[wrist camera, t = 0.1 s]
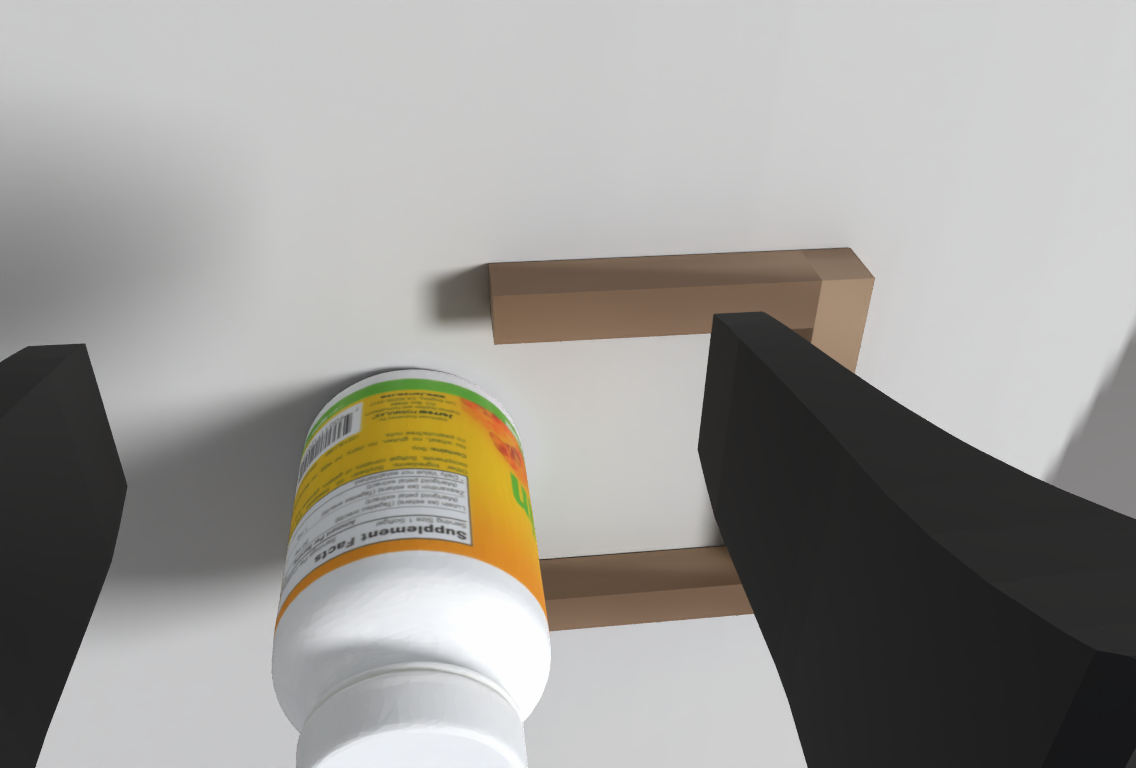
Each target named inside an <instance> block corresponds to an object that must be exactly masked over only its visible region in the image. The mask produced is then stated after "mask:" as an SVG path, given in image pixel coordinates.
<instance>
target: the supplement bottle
mask: <svg viewBox="0 0 1136 768" xmlns="http://www.w3.org/2000/svg"><path fill="white" fill-rule="evenodd" d="M550 661H551V647H550V633H549V627H548V619H547V612H546V605H545V598H544V592H543V585H542V578H541V571H540V564H539V556H538V548H537V541H536V534H535V528H534V521H533V514H532V507H531V501H530V495H529V488H528V481H527V474H526V468H525V461H524V455H523V450H522V445H521V440H520V437H519V434H518V431H517V429H516V426H515V424H514V422H513V421H512V419H511V417H510V416H509V414H508V413H507V411H506V410H505V409H504V407H503V406H502V405H501V404H500V403H499V402H498V401H497V400H496V399H495V398H494V397H493V396H491V395H490V394H489V393H488V392H486V391H485V390H483V389H482V388H480V387H479V386H477V385H475V384H473V383H472V382H469V381H467V380H465V379H463V378H460V377H458V376H455V375H451V374H448V373H443V372H438V371H430V370H416V369H411V370H398V371H391V372H385V373H382V374H378V375H374V376H371V377H369V378H366V379H364V380H362V381H360V382H358V383H355V384H353V385H352V386H350V387H348V388H347V389H345V390H343V391H342V392H340V393H339V394H338V395H336V396H335V397H334V398H333V399H332V400H331V401H330V402H328V403H327V404H326V405H325V407H324V408H323V409H322V410H321V411H320V413H319V414H318V416H317V417H316V419H315V420H314V422H313V424H312V425H311V428H310V430H309V432H308V435H307V437H306V441H305V444H304V449H303V452H302V458H301V463H300V469H299V475H298V481H297V488H296V494H295V501H294V508H293V515H292V522H291V529H290V535H289V542H288V548H287V555H286V562H285V568H284V575H283V581H282V587H281V594H280V601H279V607H278V613H277V619H276V625H275V632H274V641H273V654H272V679H273V685H274V689H275V693H276V696H277V699H278V701H279V704H280V706H281V708H282V710H283V712H284V714H285V715H286V717H287V718H288V720H289V721H290V722H291V724H292V725H293V726H294V727H295V728H296V730H297V731H298V732H299V733H300V736H299V740H298V744H297V752H296V768H528V766H527V754H526V745H525V737H524V729H523V722H524V721H525V720H526V719H527V717H528V716H529V715H530V714H531V712H532V711H533V709H534V708H535V706H536V704H537V703H538V701H539V700H540V698H541V696H542V693H543V691H544V688H545V685H546V683H547V680H548V675H549V671H550Z"/></svg>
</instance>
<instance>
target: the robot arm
mask: <svg viewBox="0 0 1136 768" xmlns="http://www.w3.org/2000/svg"><path fill="white" fill-rule="evenodd" d="M698 453H699V457H700V461H701V466H702V470H703V474H704V478H705V482H706V486H707V490H708V494H709V498H710V501H711V505H712V509H713V513H714V516H715V519H716V522H717V524H718V527H719V529H720V532H721V535H722V537H723V539H724V542H725V544H726V547H727V549H728V552H729V554H730V557H731V559H732V562H733V564H734V567H735V569H736V571H737V574H738V576H739V579H740V581H741V583H742V586H743V588H744V591H745V593H746V595H747V598H748V600H749V603H750V605H751V608H752V610H753V612H754V615H755V617H756V620H757V622H758V624H759V627H760V629H761V632H762V634H763V636H764V639H765V641H766V644H767V646H768V648H769V651H770V653H771V656H772V658H773V660H774V663H775V665H776V668H777V671H778V673H779V676H780V679H781V682H782V685H783V687H784V690H785V693H786V696H787V698H788V701H789V705H790V708H791V712H792V715H793V718H794V722H795V725H796V729H797V732H798V736H799V739H800V742H801V746H802V749H803V753H804V756H805V760H806V763H807V767H808V768H1136V519H1134V518H1131V517H1128V516H1126V515H1123V514H1121V513H1118V512H1115V511H1113V510H1110V509H1108V508H1106V507H1103V506H1101V505H1098V504H1096V503H1093V502H1091V501H1088V500H1086V499H1084V498H1081V497H1079V496H1076V495H1074V494H1071V493H1069V492H1066V491H1064V490H1061V489H1059V488H1057V487H1055V486H1053V485H1050V484H1048V483H1046V482H1044V481H1041V480H1039V479H1037V478H1035V477H1033V476H1030V475H1028V474H1026V473H1024V472H1022V471H1020V470H1018V469H1016V468H1014V467H1012V466H1010V465H1008V464H1006V463H1004V462H1002V461H1000V460H998V459H996V458H994V457H992V456H990V455H988V454H986V453H984V452H982V451H980V450H978V449H976V448H974V447H973V446H971V445H969V444H967V443H965V442H963V441H962V440H960V439H958V438H956V437H954V436H953V435H951V434H949V433H947V432H946V431H944V430H942V429H941V428H939V427H937V426H936V425H934V424H932V423H931V422H929V421H927V420H926V419H924V418H922V417H921V416H919V415H917V414H916V413H914V412H912V411H911V410H909V409H907V408H906V407H904V406H903V405H901V404H899V403H898V402H896V401H895V400H893V399H892V398H890V397H889V396H887V395H885V394H884V393H882V392H881V391H879V390H878V389H876V388H875V387H873V386H872V385H870V384H869V383H867V382H866V381H864V380H863V379H861V378H860V377H859V376H857V375H856V374H854V373H853V372H851V371H850V370H848V369H847V368H845V367H844V366H843V365H841V364H840V363H838V362H837V361H835V360H834V359H833V358H831V357H830V356H828V355H827V354H826V353H824V352H823V351H821V350H820V349H818V348H817V347H816V346H814V345H813V344H811V343H810V342H809V341H807V340H806V339H804V338H803V337H801V336H800V335H799V334H797V333H796V332H794V331H793V330H791V329H790V328H789V327H787V326H786V325H784V324H783V323H781V322H780V321H778V320H776V319H775V318H773V317H772V316H770V315H768V314H767V313H765V312H763V311H760V312H739V313H718V314H713V322H712V330H711V339H710V347H709V356H708V365H707V373H706V382H705V391H704V399H703V408H702V416H701V425H700V434H699V442H698ZM126 491H127V483H126V479H125V476H124V473H123V469H122V466H121V462H120V459H119V456H118V452H117V449H116V446H115V442H114V439H113V436H112V432H111V429H110V426H109V422H108V419H107V415H106V412H105V409H104V405H103V402H102V399H101V395H100V392H99V389H98V385H97V382H96V379H95V375H94V372H93V368H92V365H91V362H90V358H89V355H88V352H87V348H86V345H85V344H66V345H45V346H28V347H26V348H24V349H22V350H20V351H19V352H17V353H15V354H13V355H11V356H10V357H8V358H7V359H5V360H3V361H2V362H0V768H35V767H36V764H37V761H38V758H39V755H40V752H41V749H42V746H43V742H44V739H45V736H46V733H47V731H48V728H49V725H50V723H51V720H52V718H53V715H54V712H55V710H56V707H57V704H58V702H59V699H60V697H61V694H62V691H63V689H64V686H65V684H66V681H67V678H68V676H69V673H70V671H71V668H72V665H73V663H74V660H75V658H76V655H77V652H78V650H79V647H80V645H81V642H82V639H83V637H84V634H85V632H86V629H87V626H88V624H89V621H90V618H91V616H92V613H93V610H94V608H95V605H96V602H97V600H98V597H99V594H100V592H101V589H102V586H103V584H104V581H105V578H106V575H107V573H108V570H109V567H110V564H111V561H112V557H113V553H114V548H115V544H116V540H117V535H118V531H119V527H120V521H121V516H122V511H123V506H124V501H125V496H126Z"/></svg>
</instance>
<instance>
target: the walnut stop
mask: <svg viewBox="0 0 1136 768" xmlns="http://www.w3.org/2000/svg"><path fill="white" fill-rule="evenodd" d="M874 280H875V278H874V276H873V275H872V274H871V273H870V271H869V270H868V269H867V268H866V267H865V265H864V264H863V263H862V262H861V260H860V259H859V258H858V257H857V255H856V254H855V253H854V252H853V250H852V249H851V248H837V249H814V250H790V251H767V252H744V253H721V254H698V255H675V256H651V257H628V258H605V259H582V260H559V261H536V262H513V263H489V287H490V313H491V321H492V329H493V337H494V345H497V344H516V343H535V342H554V341H573V340H592V339H611V338H630V337H649V336H668V335H687V334H706V333H711V330H712V322H713V314H718V313H739V312H760V311H763V312H765V313H767V314H768V315H770V316H772V317H773V318H775V319H776V320H778V321H780V322H781V323H783V324H784V325H786V326H787V327H789V328H790V329H791V330H793V331H794V332H796V333H797V334H799V335H800V336H801V337H803V338H804V339H806V340H807V341H809V342H810V343H811V344H813V345H814V346H816V347H817V348H818V349H820V350H821V351H823V352H824V353H826V354H827V355H828V356H830V357H831V358H833V359H834V360H835V361H837V362H838V363H840V364H841V365H843V366H844V367H845V368H847V369H848V370H850V371H851V372H853V373H854V374H855V369H856V365H857V360H858V355H859V350H860V346H861V341H862V336H863V332H864V327H865V322H866V318H867V313H868V308H869V304H870V299H871V294H872V290H873V285H874ZM539 564H540V571H541V578H542V585H543V592H544V598H545V605H546V612H547V619H548V627H549V631H558V630H570V629H581V628H593V627H605V626H616V625H628V624H640V623H651V622H663V621H675V620H686V619H698V618H710V617H721V616H733V615H744V614H754V612H753V610H752V608H751V605H750V603H749V600H748V598H747V595H746V593H745V591H744V588H743V586H742V583H741V581H740V579H739V576H738V574H737V571H736V569H735V567H734V564H733V562H732V559H731V557H730V554H729V552H728V549H727V547H726V546H718V547H705V548H692V549H679V550H666V551H653V552H640V553H627V554H614V555H601V556H589V557H576V558H563V559H550V560H539Z"/></svg>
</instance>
